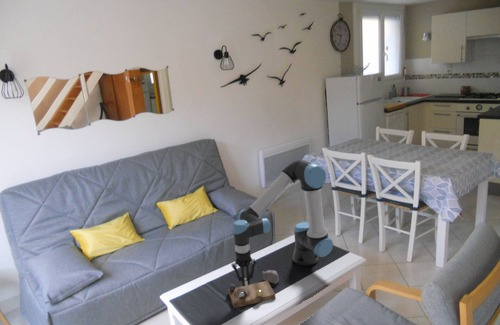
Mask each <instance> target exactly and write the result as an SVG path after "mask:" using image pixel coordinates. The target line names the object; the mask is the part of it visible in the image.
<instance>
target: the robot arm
mask: <svg viewBox="0 0 500 325" xmlns="http://www.w3.org/2000/svg"><path fill="white" fill-rule="evenodd" d="M326 180H327V173H326V171H325V168H323V167H322V166H321V165H319V164H317V163H313V162H310V161H309V160H305V159H297V160H294V161H292V162H291V163H289V164H288V165H287V166H286V167H284V168H283V169H282V170H281V171H280V175H279V176H277V178H276V179H275V180H274V181H273V182H272V183H271V184H270V185H269V186H268V187H267V188H266V189H265V190H264V191H263V192H262V194H260V196H259V197H258V198H256V199H255V200H254V202H253V203H251V205H250V206H249V207H248V208H247V209H241V210H240V211H239V212H238V214H237V220H235V221H234V222H233V224H232V232H233V240H234V251H235V261H234V263H231V264H230V265H231V267H232V269H233V270H234V272H235V274H236V277H237V279H238V281H239V282H241V285H242V286H244V289H245V292H248V285H250V284H251V283H250V282H251V281H250V279H253V278H254V273H255V272H254V271H255V266H256V264H257V260H256V259H255V258H252V254H251V247H250V246H251V245H250V239H251V238H254V237H258V236H261V235H265V234H266V233H269V232H270V231H271V222H270V220H269V219H268V218H267V217H264V218H262V217H261V216H262V215H263V214H264V213H265V211H267V209H268V208H270V206H271V205H272V204H273V203H274V202H275V201H276V200H277V199H278V198H279V197H280V196H281V195H282V194H283V193H284V192H285V191H286V190H287V188H289V186H291V185H295V183H296V182H299V185H300V190H301V191H302V192H304V200H305V206H306V215H307V216H306V217H307V221H304V222H300V223H297V224H295V225H294V228H293V229H294V230H293V232H294V234H293V235H294V250H293V255H292V261H293V263H295V264H296V265H299V266H302V267H303V266H304V267H306V266H307V267H308V266H312V265H315V264H317V263H318V262H319V257H320V258H323V257H326V256H329V254H330V253H331V251H332V250H333V248H334V242H333V240H332V239H331V237H329V230H328V229H327V228H325V221H324V220H325V219H324V211H323V200H322V192H321V190H322V189H323V187H324V185H325V182H326ZM260 217H261V218H260ZM237 266H238V267H239V268H240V269H239V270H240V273H239V271H238V269H237ZM249 266H250V267H249ZM244 268H245V270H244ZM244 271H245V272H244Z"/></svg>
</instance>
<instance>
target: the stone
mask: <svg viewBox="0 0 500 325" xmlns="http://www.w3.org/2000/svg"><path fill="white" fill-rule="evenodd" d="M279 276H280V275H278V272H277V271H276V270H273V269H272V270H271V269H268V270H266V271H262V279H263V281H268V282H269V284H270V283H272V284H274V285H276V284H278V283H279V281H280V279H279V278H280V277H279Z"/></svg>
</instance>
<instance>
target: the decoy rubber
mask: <svg viewBox="0 0 500 325" xmlns="http://www.w3.org/2000/svg"><path fill="white" fill-rule="evenodd" d="M235 288H237V287H236V284H234V283H231V284H229V286H228V289H230V290H231V291H234V290H235Z"/></svg>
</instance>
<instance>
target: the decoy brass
mask: <svg viewBox="0 0 500 325" xmlns="http://www.w3.org/2000/svg"><path fill="white" fill-rule="evenodd" d="M256 295H257V296H258V297H261V296H262V295H263V292H262V291H261V290H257V291H256Z"/></svg>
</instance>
